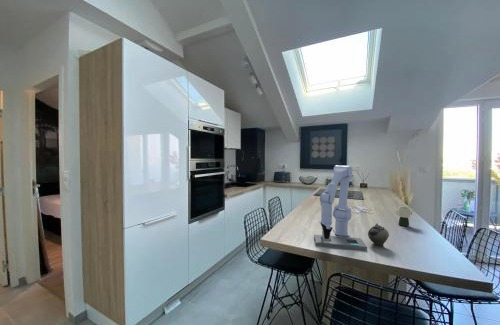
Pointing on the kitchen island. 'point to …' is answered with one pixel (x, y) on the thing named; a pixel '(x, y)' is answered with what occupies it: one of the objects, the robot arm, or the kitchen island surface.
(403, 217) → the character mug
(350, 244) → the grey mounting plate
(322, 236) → the plug block
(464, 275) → the kitchen island surface
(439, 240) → the kitchen island surface
